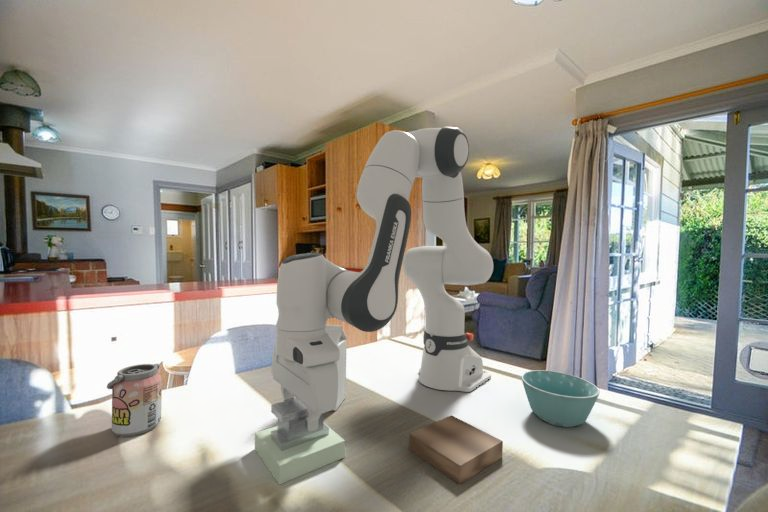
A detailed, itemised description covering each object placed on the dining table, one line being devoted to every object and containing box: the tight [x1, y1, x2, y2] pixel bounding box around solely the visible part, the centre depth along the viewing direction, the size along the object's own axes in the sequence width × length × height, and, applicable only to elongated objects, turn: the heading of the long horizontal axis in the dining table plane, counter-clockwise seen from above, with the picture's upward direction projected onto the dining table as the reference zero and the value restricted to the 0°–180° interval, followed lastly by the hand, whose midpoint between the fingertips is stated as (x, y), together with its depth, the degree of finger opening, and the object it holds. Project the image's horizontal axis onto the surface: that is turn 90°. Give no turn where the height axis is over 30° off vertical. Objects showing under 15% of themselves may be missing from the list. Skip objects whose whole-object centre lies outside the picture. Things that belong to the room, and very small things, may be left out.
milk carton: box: [326, 324, 348, 411], centre depth 82 cm, size 7×7×19 cm
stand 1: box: [254, 421, 346, 485], centre depth 62 cm, size 12×12×3 cm
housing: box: [270, 397, 330, 451], centre depth 62 cm, size 5×9×6 cm, turn 128°
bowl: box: [521, 369, 600, 428], centre depth 77 cm, size 16×16×8 cm
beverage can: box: [106, 363, 163, 438], centre depth 69 cm, size 9×8×12 cm
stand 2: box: [408, 414, 504, 485], centre depth 63 cm, size 12×12×3 cm
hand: (299, 418), depth 62 cm, fingers open, 8 cm apart
